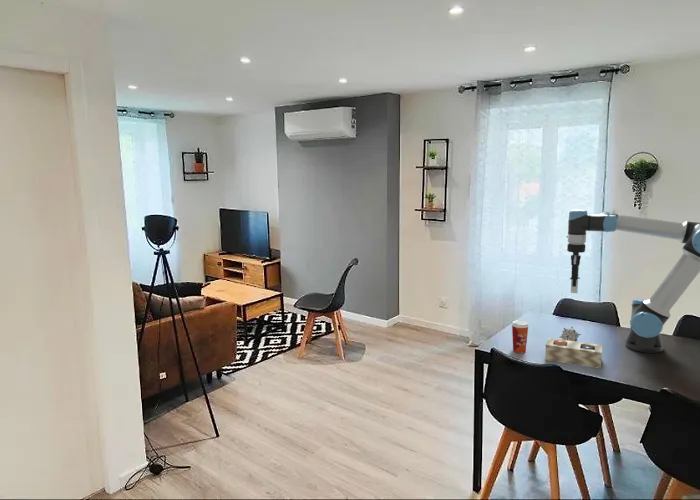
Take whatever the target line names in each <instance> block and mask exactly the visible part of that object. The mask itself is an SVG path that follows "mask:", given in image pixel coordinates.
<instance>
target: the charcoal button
mask: <svg viewBox="0 0 700 500" xmlns="http://www.w3.org/2000/svg"><path fill="white" fill-rule="evenodd" d="M582 348H583V349H591V350H594V348H593V347H592V346H588V345H584V346H582Z"/></svg>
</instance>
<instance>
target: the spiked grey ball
mask: <svg viewBox="0 0 700 500" xmlns="http://www.w3.org/2000/svg"><path fill="white" fill-rule="evenodd" d="M579 336H581V333H579V332H577V331H576V329H574V328H573V326H571V327H570V328H565V327H563V330H562V334H561V336H559V339H562V340H568V341H576V342H579V341H578V338H579Z"/></svg>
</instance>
